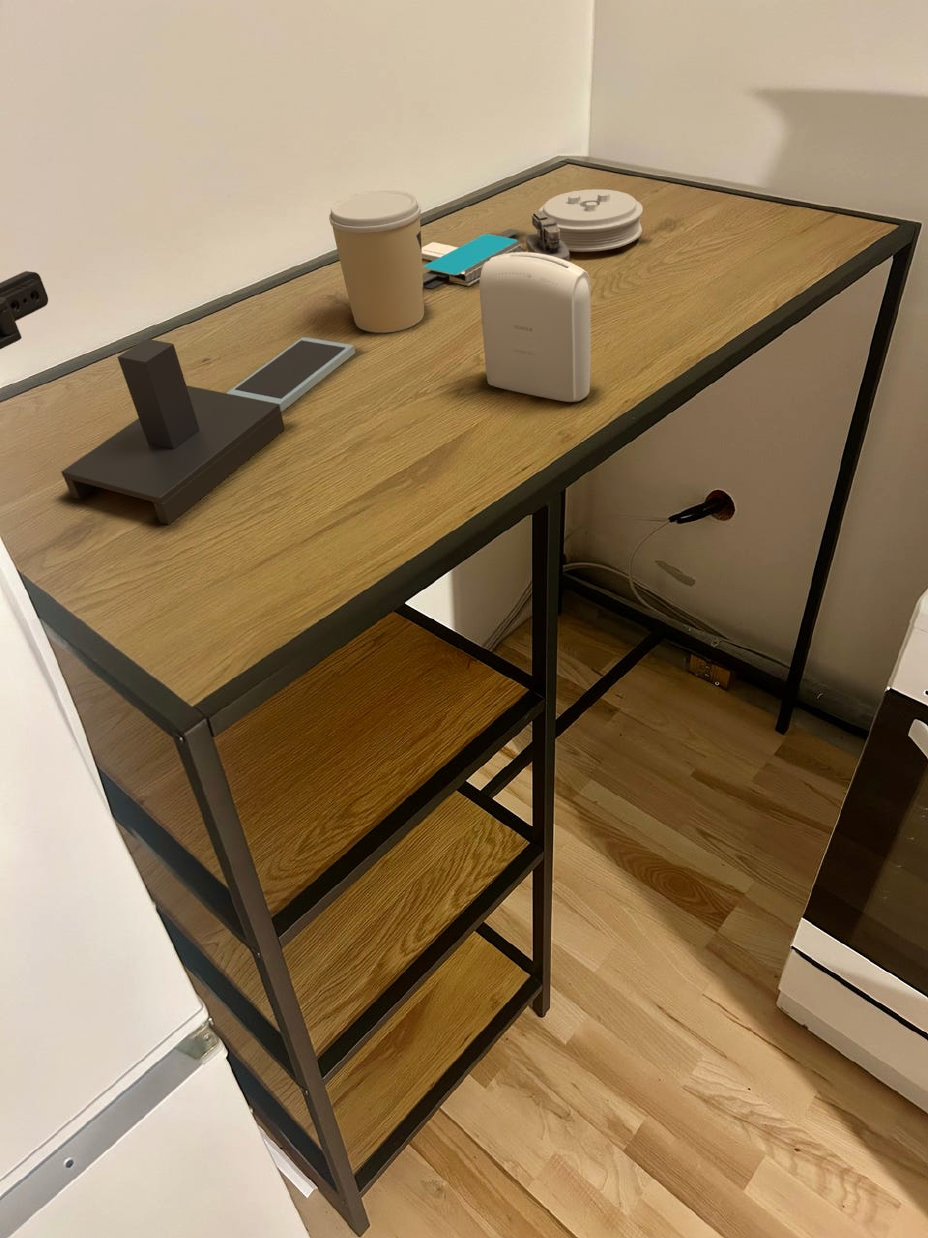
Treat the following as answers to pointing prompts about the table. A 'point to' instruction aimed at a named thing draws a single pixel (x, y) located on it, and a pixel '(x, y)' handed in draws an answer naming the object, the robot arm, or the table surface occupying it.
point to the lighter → (546, 237)
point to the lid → (595, 219)
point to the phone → (294, 371)
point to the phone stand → (465, 258)
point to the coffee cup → (381, 258)
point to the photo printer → (537, 325)
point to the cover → (173, 436)
